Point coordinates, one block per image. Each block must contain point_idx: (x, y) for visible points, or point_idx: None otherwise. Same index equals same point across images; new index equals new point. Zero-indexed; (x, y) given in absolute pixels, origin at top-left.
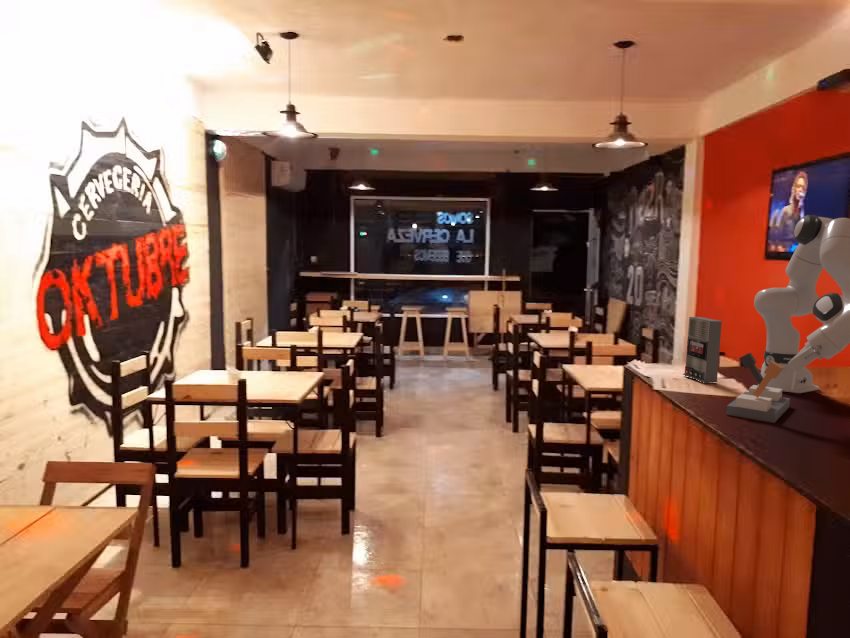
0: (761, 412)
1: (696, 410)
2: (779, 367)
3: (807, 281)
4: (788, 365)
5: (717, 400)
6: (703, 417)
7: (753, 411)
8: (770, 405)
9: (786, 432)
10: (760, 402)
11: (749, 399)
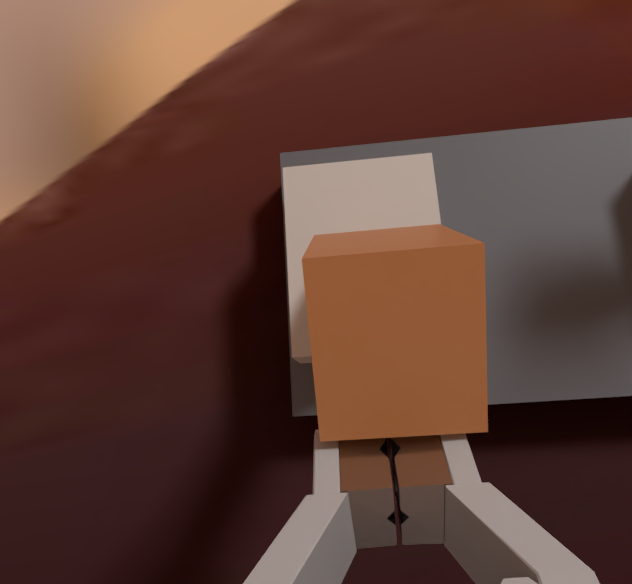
0: (289, 337)
1: (263, 55)
2: (316, 404)
3: None
4: (255, 571)
5: (581, 41)
6: (150, 125)
7: (287, 294)
8: None
9: (137, 517)
10: (290, 314)
11: (288, 243)
